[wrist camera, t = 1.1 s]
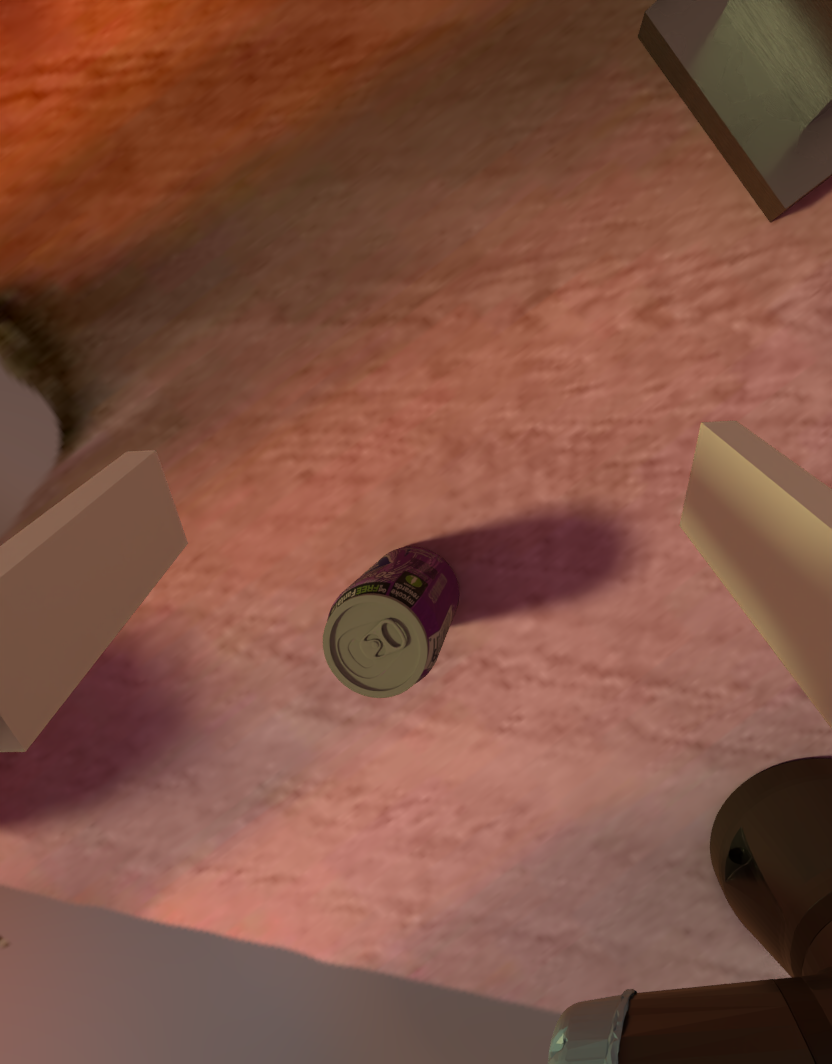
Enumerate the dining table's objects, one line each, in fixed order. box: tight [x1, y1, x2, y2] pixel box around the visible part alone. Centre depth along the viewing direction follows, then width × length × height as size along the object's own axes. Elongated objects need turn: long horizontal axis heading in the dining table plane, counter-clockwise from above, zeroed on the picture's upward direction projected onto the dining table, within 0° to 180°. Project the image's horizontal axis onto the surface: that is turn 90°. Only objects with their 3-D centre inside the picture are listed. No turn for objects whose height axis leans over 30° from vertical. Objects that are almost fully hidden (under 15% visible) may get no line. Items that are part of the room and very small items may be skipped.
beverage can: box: [323, 547, 459, 698], centre depth 36 cm, size 7×7×12 cm
